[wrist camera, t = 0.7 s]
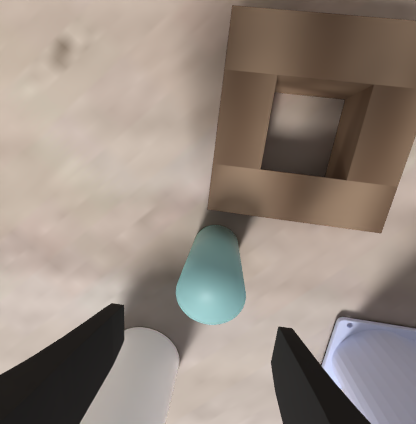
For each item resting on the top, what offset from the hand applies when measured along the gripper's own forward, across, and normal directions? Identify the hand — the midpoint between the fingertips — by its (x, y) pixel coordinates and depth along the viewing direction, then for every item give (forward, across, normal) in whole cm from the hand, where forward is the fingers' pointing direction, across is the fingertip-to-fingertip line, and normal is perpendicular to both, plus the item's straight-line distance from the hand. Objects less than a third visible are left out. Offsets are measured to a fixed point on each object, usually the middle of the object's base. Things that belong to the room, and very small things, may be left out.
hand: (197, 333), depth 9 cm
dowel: (+9, 0, 0) cm, 9 cm away
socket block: (+9, -6, -10) cm, 15 cm away
